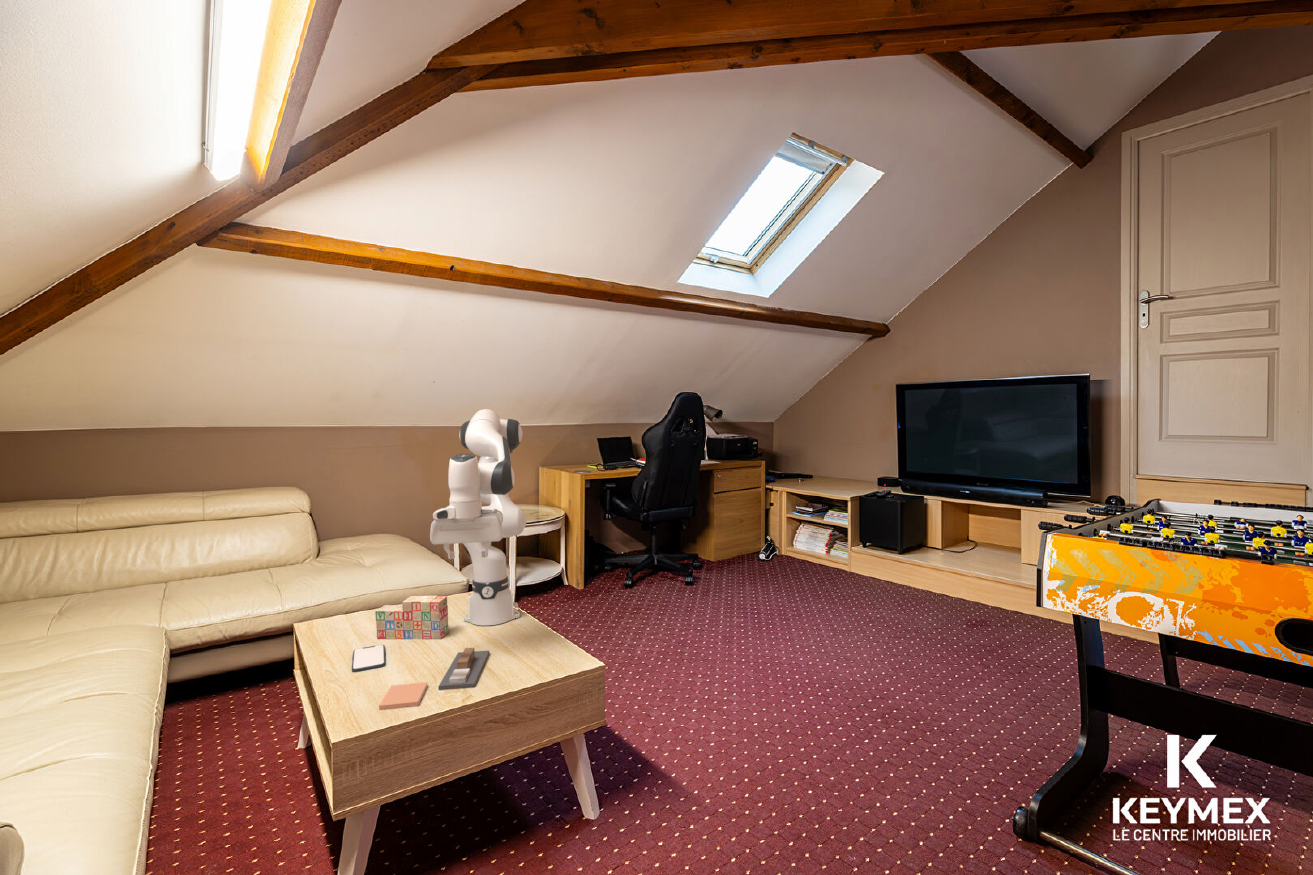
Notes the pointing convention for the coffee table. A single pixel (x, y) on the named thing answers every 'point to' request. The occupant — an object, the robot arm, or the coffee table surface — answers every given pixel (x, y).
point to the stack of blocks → (414, 619)
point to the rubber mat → (473, 676)
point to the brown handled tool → (463, 666)
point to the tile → (403, 696)
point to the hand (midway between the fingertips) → (468, 557)
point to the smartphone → (368, 658)
